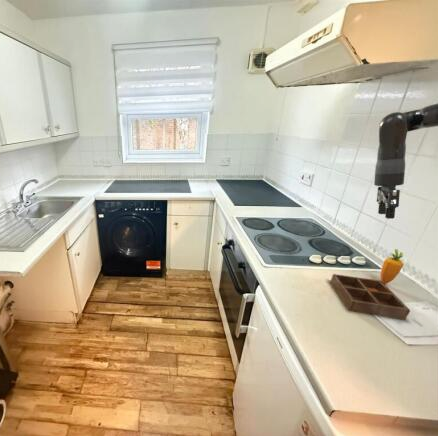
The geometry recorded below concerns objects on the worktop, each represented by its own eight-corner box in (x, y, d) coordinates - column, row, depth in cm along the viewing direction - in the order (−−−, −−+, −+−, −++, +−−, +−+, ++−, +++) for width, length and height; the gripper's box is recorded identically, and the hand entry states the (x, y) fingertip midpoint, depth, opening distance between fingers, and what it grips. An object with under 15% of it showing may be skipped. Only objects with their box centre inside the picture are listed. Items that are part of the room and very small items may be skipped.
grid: (376, 289, 90) (381, 280, 88) (405, 320, 76) (410, 310, 74) (329, 282, 93) (333, 273, 92) (348, 310, 80) (352, 301, 78)
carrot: (392, 290, 89) (409, 256, 83) (374, 284, 92) (390, 251, 86) (392, 284, 92) (408, 250, 87) (375, 278, 96) (389, 246, 90)
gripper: (412, 171, 77) (407, 220, 80) (396, 170, 89) (393, 212, 92) (381, 173, 81) (377, 220, 84) (370, 172, 93) (367, 212, 96)
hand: (385, 216), depth 88 cm, fingers open, 8 cm apart
